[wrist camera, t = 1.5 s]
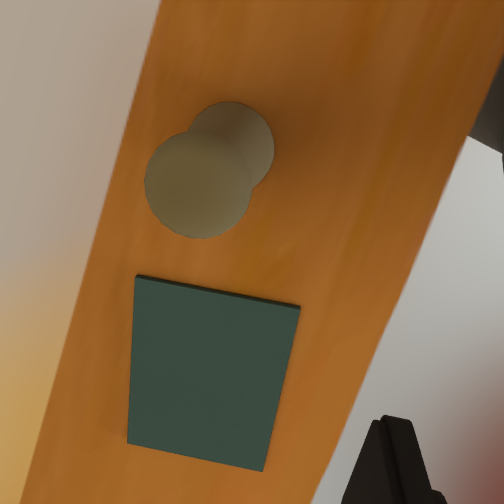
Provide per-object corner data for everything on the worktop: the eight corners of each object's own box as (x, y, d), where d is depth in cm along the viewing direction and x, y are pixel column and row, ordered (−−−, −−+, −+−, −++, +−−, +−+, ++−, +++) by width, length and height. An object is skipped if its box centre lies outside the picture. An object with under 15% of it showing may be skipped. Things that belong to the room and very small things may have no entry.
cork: (268, 95, 28) (244, 117, 18) (280, 186, 31) (265, 250, 21) (177, 109, 29) (109, 137, 19) (196, 196, 32) (143, 262, 22)
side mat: (300, 306, 34) (300, 309, 34) (262, 467, 42) (262, 472, 41) (137, 274, 35) (134, 277, 35) (129, 439, 43) (127, 443, 42)
